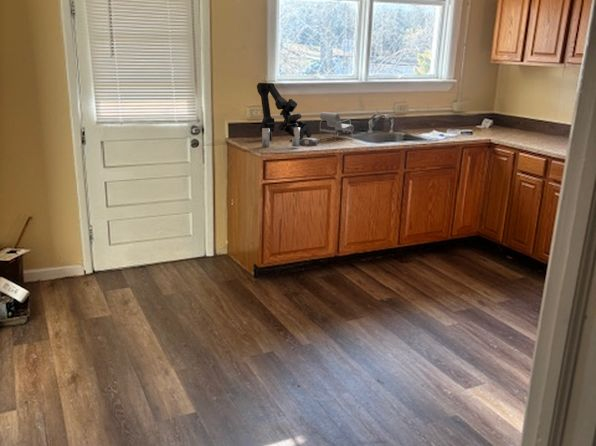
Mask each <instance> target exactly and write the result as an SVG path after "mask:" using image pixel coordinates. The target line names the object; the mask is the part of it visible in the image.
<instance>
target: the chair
mask: <svg viewBox="0 0 596 446" xmlns="http://www.w3.org/2000/svg"><path fill="white" fill-rule="evenodd" d="M324 121H326V125H327V127H330V128H334V130H332V129H325V128H321V123H322V122H324ZM346 121H349V123H343V122H346ZM354 129H355V128H354V125H353V124H352V123H351V118H350V119H349V118H348V119H344V120H342V119H341V116H340V114H339V113H334V112H327V111H322V112H321V113H320V123H319V132H324V133H330V134H331V133H332V134H334V135H336V136H337V137H338V136H339V132H338V131H339V130H340V131H346V132H350V133H351V138H350V140H352V139H353V138H354V134H353V131H354ZM336 133H337V134H336ZM324 138H325V137H324ZM324 138H321V137H319V139H321V140H325V139H324ZM347 139H348V138H347ZM347 139H344V141H348V140H347ZM341 140H342V139H341ZM341 140H338V142H342V141H341ZM336 141H337V140H334V142H335V143H337V142H336Z"/></svg>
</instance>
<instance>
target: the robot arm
mask: <svg viewBox="0 0 596 446" xmlns="http://www.w3.org/2000/svg"><path fill="white" fill-rule="evenodd" d="M256 90H257V93H258V95H259V96H260V99H261V101H260V102H261V106H262V108H261V109H262V114H263V118H262V119H261V125H260V126H259V129H258V130H259V131H260V132H261V133H262V128H270V137H269V142H270V141H272V140H273V133H272V132H274V131H275V127H276V123H275V118H274V117H272V116H271V114H272V113H271V108H270V101H269V94H270V95H271V96H272V98H273V100H274V101H275V103H274V104H275V107H276V109H277V110H279V111H280V110H281V111H280V113H279V116H282V117H283V121H282V122H281V123H280V124H279V125H278V131H280V132H281V131H284V132H286V133H288V134H289V135H290V136H293V137H294V136H295V135H294V133H293V127H300V136H301V129H303V127H304V126H305V125H306V121H304V120H301V119H302V115H301V113H299V112H298V113H294V111H295V109H296V108H297V106H298V102H296V101H295V100H293V98H289V99H288V100H286V98H284V97H283V96H282V95H281V94H280V92H279V91H278V89H277V88H276V86H275V83H273V82H258V83H257V84H256ZM292 113H294V114H292ZM298 120H300V121H298ZM260 141H262V138H261V139H260Z"/></svg>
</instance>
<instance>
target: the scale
mask: <svg viewBox="0 0 596 446" xmlns="http://www.w3.org/2000/svg"><path fill="white" fill-rule="evenodd" d="M319 143H320V144H321V140H320V138H316V137H310V138H307V137H303V138H302V139H301V140H300V141H299V146H300V145H301V146H307V147H308V146H309V147H312V146H313V147H314V146H319Z"/></svg>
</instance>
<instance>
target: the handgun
mask: <svg viewBox="0 0 596 446" xmlns="http://www.w3.org/2000/svg"><path fill="white" fill-rule="evenodd" d="M305 123H306V125H305V126H304V127H303V129H301V136H300V140H301V139H303V138H304V136H306V138H312V132H311V130H310V123H309V122H308V121H305Z"/></svg>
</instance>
